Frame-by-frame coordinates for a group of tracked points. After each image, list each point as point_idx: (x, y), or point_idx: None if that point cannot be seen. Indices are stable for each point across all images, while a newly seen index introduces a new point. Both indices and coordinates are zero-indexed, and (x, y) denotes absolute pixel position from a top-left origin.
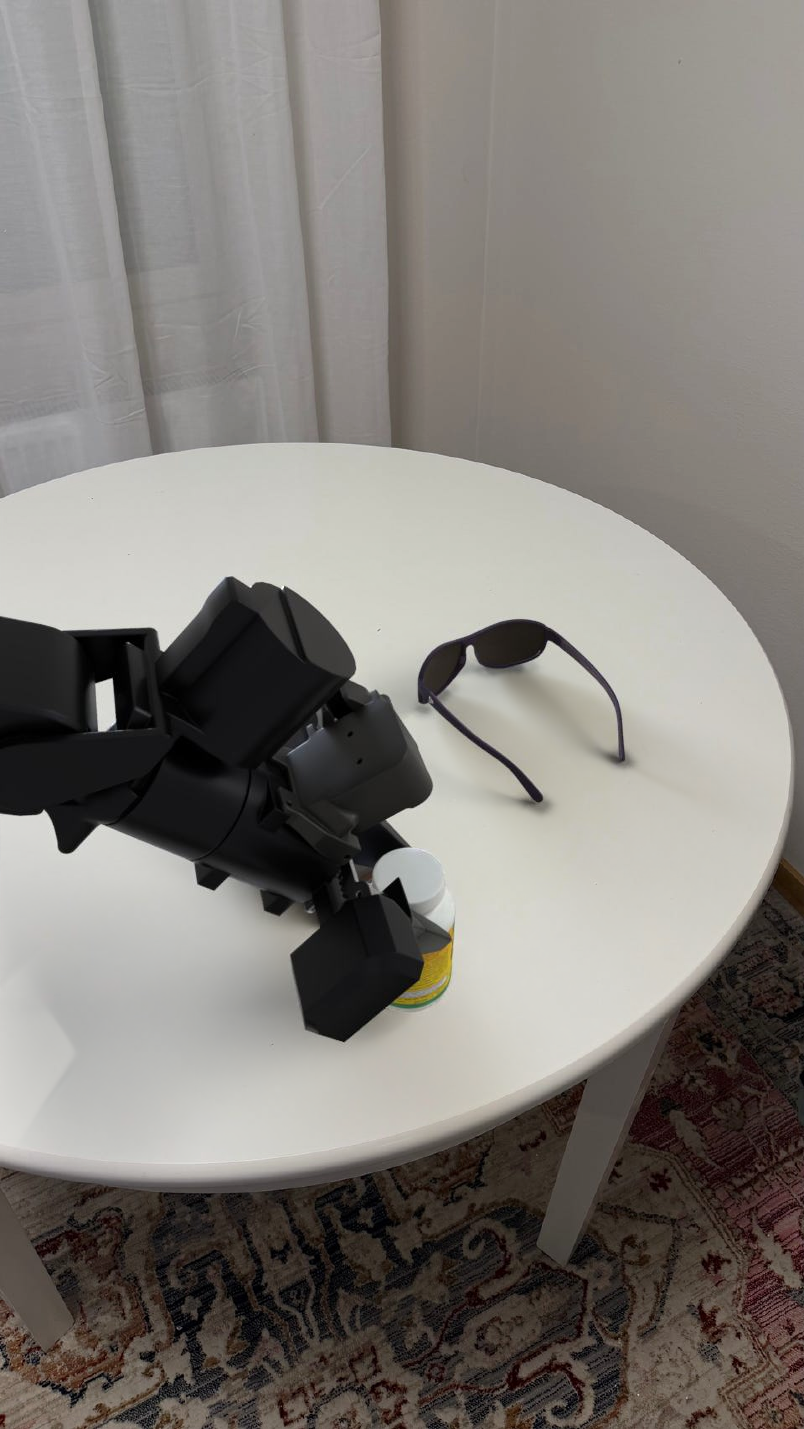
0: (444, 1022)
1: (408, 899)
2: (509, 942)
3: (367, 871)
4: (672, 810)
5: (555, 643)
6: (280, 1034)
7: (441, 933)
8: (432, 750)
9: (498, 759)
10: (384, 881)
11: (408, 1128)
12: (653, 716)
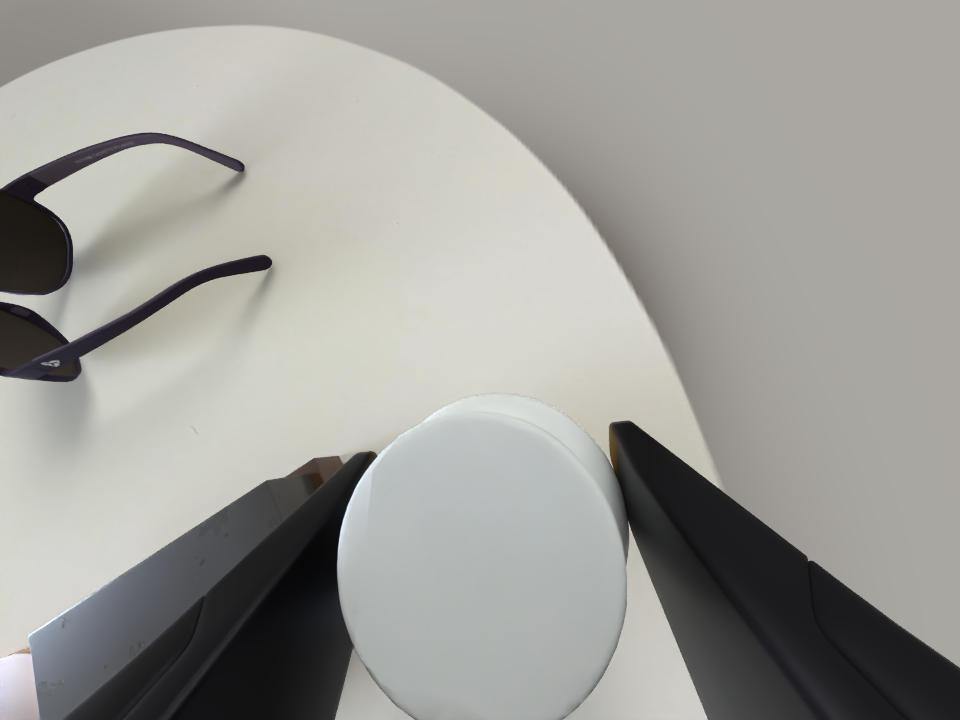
0: None
1: (609, 595)
2: (458, 332)
3: None
4: (321, 133)
5: (39, 190)
6: None
7: (670, 457)
8: (157, 377)
9: (188, 288)
10: (492, 685)
11: None
12: (197, 130)
